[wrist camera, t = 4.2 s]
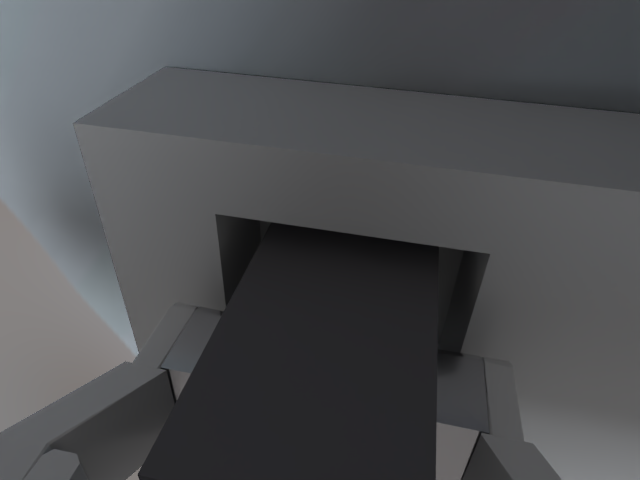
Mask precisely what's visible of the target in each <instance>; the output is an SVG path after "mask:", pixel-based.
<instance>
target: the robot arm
mask: <svg viewBox="0 0 640 480" xmlns="http://www.w3.org/2000/svg"><path fill="white" fill-rule="evenodd" d="M223 312H224V311H220V310H215V309H210V308H205V307H201V306H200V307H199V306H194V305H189V304H184V303H179V302H176V303H175V304H173V305H172V306H171V307H170V308H169V309H168V311H167V312H166V314H165V315H164V317H163V318H162V320H161V321H160V323H159V324H158V325H157V327H156V328H155V330H154V331H153V333H152V334H151V336H150V337H149V339H148V340H147V342H146V343H145V345H144V346H143V348H142V349H141V351H140V352H139V354H138V355H137V357H136V358H135V360H134V361H133V363H130V362H124V363H122V364H120V365H119V366H117V367H115V368H113V369H112V370H110V371H108V372H106V373H105V374H103V375H101V376H99V377H98V378H96V379H94V380H92V381H91V382H89V383H87V384H85V385H83V386H82V387H80V388H78V389H76V390H75V391H73V392H71V393H69V394H67V395H66V396H64V397H62V398H60V399H59V400H57V401H55V402H53V403H52V404H50V405H48V406H46V407H45V408H43V409H41V410H39V411H37V412H36V413H34V414H32V415H30V416H29V417H27V418H25V419H23V420H21V421H20V422H18V423H16V424H15V425H13V426H11V427H9V428H7V429H6V430H4V431H2V432H0V480H126V479H127V478H128V477H129V476H131V475H132V474H133V473H134V472H135V471H136V470H138V469H139V468H140V467H141V466H142V465H143V463H144V462H145V460H146V458H147V456H148V454H149V452H150V450H151V448H152V446H153V445H154V443H155V441H156V439H157V437H158V435H159V433H160V431H161V429H162V428H163V426H164V424H165V422H166V420H167V418H168V416H169V414H170V412H171V411H172V409H173V407H174V405H175V403H176V401H177V399H178V397H179V395H180V394H181V392H182V390H183V388H184V386H185V384H186V382H187V380H188V378H189V377H190V375H191V373H192V371H193V369H194V367H195V365H196V363H197V361H198V360H199V358H200V356H201V354H202V352H203V350H204V348H205V346H206V344H207V342H208V341H209V339H210V337H211V335H212V333H213V331H214V329H215V327H216V325H217V324H218V322H219V320H220V318H221V316H222V314H223ZM436 480H562V479H561V478H560V477H559V475H558V474H557V473H556V472H555V470H554V469H553V468H552V466H551V465H550V464H549V463H548V461H547V460H546V459H545V458H544V456H543V455H542V454H541V452H540V451H539V450H538V449H537V447H536V446H535V445H534V444H533V443H529V442H525V441H524V435H523V429H522V422H521V416H520V409H519V403H518V396H517V390H516V383H515V377H514V370H513V366H512V364H511V362H510V361H505V360H499V359H493V358H487V357H480V356H477V355H471V354H465V353H459V352H453V351H447V350H441V349H438V353H437V428H436Z"/></svg>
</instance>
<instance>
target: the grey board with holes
mask: <svg viewBox="0 0 640 480" xmlns="http://www.w3.org/2000/svg"><path fill="white" fill-rule="evenodd" d="M73 125H74V129H75V132H76V136H77V139H78V143H79V146H80V150H81V153H82V157H83V160H84V163H85V167H86V170H87V174H88V177H89V181H90V184H91V188H92V191H93V195H94V198H95V202H96V205H97V209H98V212H99V216H100V219H101V223H102V226H103V230H104V233H105V236H106V240H107V243H108V247H109V250H110V254H111V257H112V261H113V264H114V268H115V271H116V275H117V278H118V282H119V285H120V289H121V292H122V296H123V299H124V303H125V306H126V309H127V313H128V316H129V320H130V323H131V327H132V330H133V334H134V337H135V341H136V344H137V348H138V351H139V352H140V351H141V349H142V348H143V346H144V345H145V343H146V342H147V340H148V339H149V337H150V336H151V334H152V333H153V331H154V330H155V328H156V327H157V325H158V324H159V323H160V321H161V320H162V318H163V317H164V315H165V314H166V312H167V311H168V309H169V308H170V307H171V306H172V305H173V304H175V303H176V302H179V303H184V304H189V305H194V306H199V307H200V306H201V307H205V308H210V309H215V310H220V311H224V310H225V308H226V307H227V305H228V303H229V301H230V299H231V297H232V295H233V293H234V291H235V290H236V288H237V286H238V284H239V282H240V280H241V278H242V276H243V274H244V273H245V271H246V269H247V267H248V265H249V263H250V261H251V259H252V257H253V256H254V254H255V252H256V250H257V248H258V246H259V244H260V242H261V240H262V239H263V237H264V235H265V233H266V231H267V229H268V227H269V225H270V223H271V222H274V223H281V224H288V225H294V226H301V227H308V228H315V229H322V230H329V231H336V232H342V233H349V234H356V235H363V236H370V237H377V238H384V239H390V240H397V241H404V242H411V243H418V244H425V245H432V246H439V278H438V349H441V350H447V351H453V352H459V353H465V354H471V355H477V356H480V357H487V358H493V359H499V360H505V361H510V362H511V364H512V366H513V370H514V377H515V383H516V390H517V396H518V403H519V409H520V416H521V422H522V429H523V435H524V441H525V442H529V443H533V444H534V445H535V446H536V447H537V449H538V450H539V451H540V452H541V454H542V455H543V456H544V458H545V459H546V460H547V461H548V463H549V464H550V465H551V466H552V468H553V469H554V470H555V472H556V473H557V474H558V475H559V477H560V478H561V479H562V480H640V114H636V113H626V112H616V111H606V110H596V109H586V108H575V107H565V106H555V105H545V104H535V103H525V102H515V101H505V100H495V99H485V98H475V97H464V96H454V95H444V94H434V93H424V92H414V91H404V90H394V89H384V88H374V87H363V86H353V85H343V84H333V83H323V82H313V81H303V80H293V79H283V78H273V77H263V76H252V75H242V74H232V73H222V72H212V71H202V70H192V69H182V68H172V67H164V68H162V69H160V70H159V71H157V72H156V73H154V74H152V75H151V76H149V77H147V78H146V79H144V80H142V81H141V82H139V83H138V84H136V85H134V86H133V87H131V88H129V89H128V90H126V91H124V92H123V93H121V94H120V95H118V96H116V97H115V98H113V99H111V100H110V101H108V102H107V103H105V104H103V105H102V106H100V107H98V108H97V109H95V110H93V111H92V112H90V113H89V114H87V115H85V116H84V117H82V118H80V119H79V120H77V121H75V122H74V123H73Z"/></svg>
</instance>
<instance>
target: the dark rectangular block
mask: <svg viewBox="0 0 640 480" xmlns="http://www.w3.org/2000/svg"><path fill="white" fill-rule="evenodd" d="M438 278H439V246H432V245H425V244H418V243H411V242H404V241H397V240H390V239H384V238H377V237H370V236H363V235H356V234H349V233H342V232H336V231H329V230H322V229H315V228H308V227H301V226H294V225H288V224H281V223H274V222H271V223H270V225H269V227H268V229H267V231H266V233H265V235H264V237H263V239H262V240H261V242H260V244H259V246H258V248H257V250H256V252H255V254H254V256H253V257H252V259H251V261H250V263H249V265H248V267H247V269H246V271H245V273H244V274H243V276H242V278H241V280H240V282H239V284H238V286H237V288H236V290H235V291H234V293H233V295H232V297H231V299H230V301H229V303H228V305H227V307H226V308H225V310H224V312H223V314H222V316H221V318H220V320H219V322H218V324H217V325H216V327H215V329H214V331H213V333H212V335H211V337H210V339H209V341H208V342H207V344H206V346H205V348H204V350H203V352H202V354H201V356H200V358H199V360H198V361H197V363H196V365H195V367H194V369H193V371H192V373H191V375H190V377H189V378H188V380H187V382H186V384H185V386H184V388H183V390H182V392H181V394H180V395H179V397H178V399H177V401H176V403H175V405H174V407H173V409H172V411H171V412H170V414H169V416H168V418H167V420H166V422H165V424H164V426H163V428H162V429H161V431H160V433H159V435H158V437H157V439H156V441H155V443H154V445H153V446H152V448H151V450H150V452H149V454H148V456H147V458H146V460H145V462H144V463H143V465H142V467H141V469H140V471H139V473H138V477H139V480H436V428H437V353H438Z"/></svg>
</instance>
